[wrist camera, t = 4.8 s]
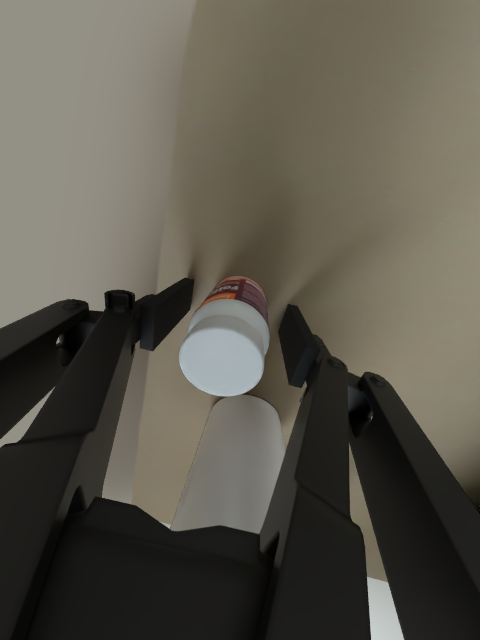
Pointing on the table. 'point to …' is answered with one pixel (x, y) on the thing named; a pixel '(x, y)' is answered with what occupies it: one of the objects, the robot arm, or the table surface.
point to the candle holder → (233, 467)
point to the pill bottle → (227, 339)
